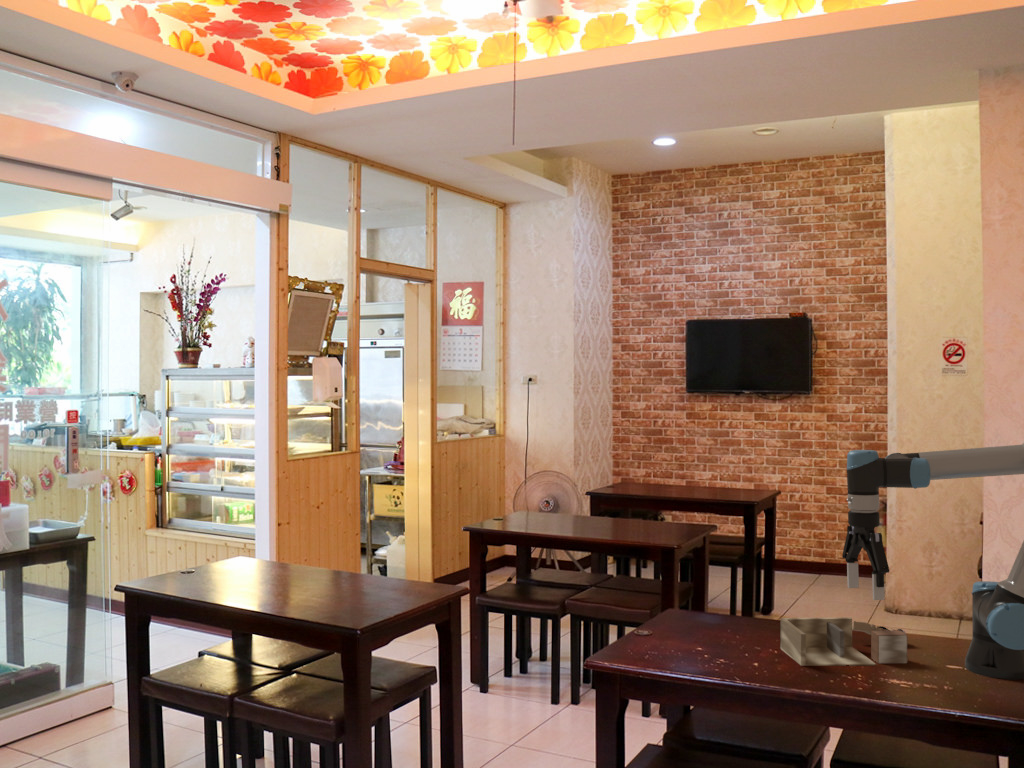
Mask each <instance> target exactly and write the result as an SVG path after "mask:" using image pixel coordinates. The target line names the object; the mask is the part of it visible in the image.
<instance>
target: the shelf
mask: <svg viewBox="0 0 1024 768" xmlns="http://www.w3.org/2000/svg"><path fill="white" fill-rule="evenodd" d="M852 624H853V618H852V617H843V616H842V617H783V618H782V617H781V618H780V625H779V626H780V627H779V628H780V629H779V630H780V636H779V637H780V638H779V639H780V640H779V641H780V646H779V647H780V648H779V649H780V650H781V651H782V652H783V653H785V654H786V655H787V656H788V657H790V658H791V659H792V660H793V661H795V662H796V663H797V664H798V665H799V666H802V667H803V666H804V667H805V666H806V667H809V666H811V667H813V666H814V667H815V666H817V667H819V666H820V667H822V666H825V667H826V666H828V667H829V666H833V667H835V666H843V667H845V666H846V665H849V666H876V665H877V662H876V663H875V661H874V660H872V659H871V658H869V657H867V656H866V655H865V654H863V653H861V652H860V651H858V650H857V649H856V648H854V647H853V630H852Z"/></svg>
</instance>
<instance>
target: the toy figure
mask: <svg viewBox="0 0 1024 768" xmlns="http://www.w3.org/2000/svg"><path fill="white" fill-rule="evenodd" d="M853 631H855V632H863V633H866V634H867V635H870V636H871V631H902V632H904V633H905V634H907V633H906V631H905V630H903V629H902V628H898V629H896V628H895V629H893V628H891V629H889V628H888V627H886V626H884V625H883V626H881V625H877V626H876V625H875V624H870V623H869V622H865V621H856V620H852V632H853Z"/></svg>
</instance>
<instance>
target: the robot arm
mask: <svg viewBox="0 0 1024 768" xmlns="http://www.w3.org/2000/svg"><path fill="white" fill-rule="evenodd" d="M1014 475H1015V476H1017V475H1018V476H1019V475H1024V442H1023V443H1022V444H1013V445H999V446H988V447H987V446H986V447H985V446H984V447H974V448H973V447H972V448H960V449H959V448H958V449H947V450H945V449H943V450H933V451H919V452H908V453H901V452H894V453H890V454H888V455H887V456H885V457H880V456H879V453H878V451H877V450H872V449H854V450H853V449H852V450H849V452H848V453H847V455H846V482H847V483H846V484H847V485H846V486H847V498H846V501H847V508H848V509H849V510H848V511H847V517H848V520H847V522H848V523H847V524H848V525H847V529H846V537H845V542H844V546H843V551H842V559H845V562H846V570H847V571H846V574H847V575H846V576H847V588H848V589H858V588H860V587H859V586H860V583H859V582H860V581H859V575H860V574H859V562H860V560H859V556H860V554H861V551H862V549H863V550H864V551H865V552H866V554H867V557H868V559H869V562H870V564H871V565H870V566H871V567H872V572H871V577H872V580H871V583H872V587H871V588H872V600H873V601H883V600H884V601H885V599H886V597H885V596H886V595H885V575H886V573H887V574H889V573H890V567H889V564H888V560H887V556H886V550H885V547H884V543H883V534H882V533H881V532H875V528H877V527H879V526H880V524H881V523H880V521H881V520H880V512H879V510H880V488H897V489H898V488H899V489H900V488H903V489H905V488H906V489H910V488H911V489H920V488H928V487H929V486H930V484H931V481H934V480H936V481H937V480H952V479H953V480H955V479H967V478H968V479H969V478H981V477H999V476H1014ZM971 595H972V596H971V597H972V599H971V600H972V601H971V602H972V606H971V607H972V614H971V616H972V617H971V618H972V639H971V641H970V645H969V647H968V650H967V653H966V655H965V658H964V668H965V669H966V670H968V671H969V672H970V673H973V674H976V675H979V676H983V677H987V678H993V679H1001V680H1015V681H1016V680H1017V681H1019V680H1024V540H1023V541H1022V544H1021V546H1020V548H1019V550H1018V553H1017V555H1016V557H1015V560H1014V562H1013V564H1012V567H1011V570H1010V572H1009V574H1008V576H1007V578H1006V579H1005V580H1004V579H1003V580H1001V581H991V580H990V581H981V580H980V581H979V580H978V581H975V582H973V584H972V590H971Z"/></svg>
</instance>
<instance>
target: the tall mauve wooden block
mask: <svg viewBox="0 0 1024 768" xmlns="http://www.w3.org/2000/svg"><path fill="white" fill-rule="evenodd" d="M905 633H906V632H905ZM905 633H904V632H902V631H891V630H890V631H871V635H870V643H871V644H870V645H871V648H870V653H871V654H870V660H872V659H873V660H872V661H873V662H875V661H876V664H907V663H908V634H907V633H906V634H905Z"/></svg>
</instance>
